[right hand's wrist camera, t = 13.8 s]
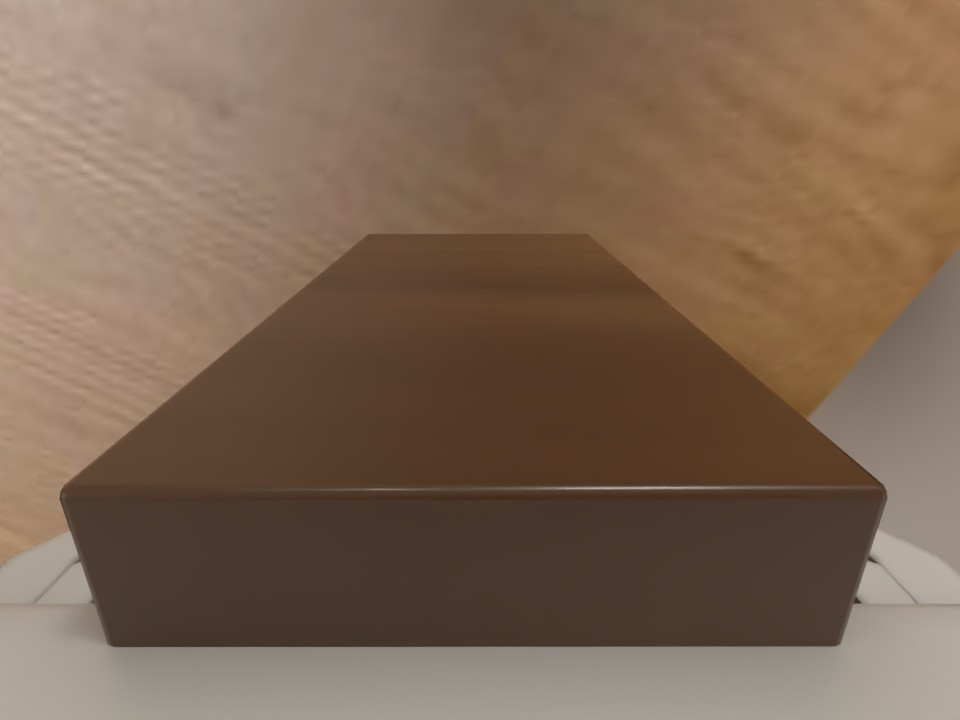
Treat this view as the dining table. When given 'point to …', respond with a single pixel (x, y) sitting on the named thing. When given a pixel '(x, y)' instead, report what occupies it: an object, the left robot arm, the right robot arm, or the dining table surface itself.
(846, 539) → the box
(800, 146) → the dining table surface
